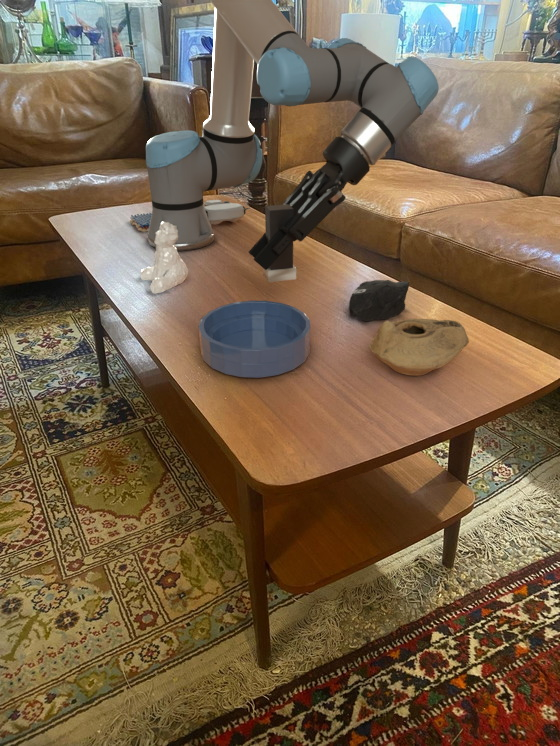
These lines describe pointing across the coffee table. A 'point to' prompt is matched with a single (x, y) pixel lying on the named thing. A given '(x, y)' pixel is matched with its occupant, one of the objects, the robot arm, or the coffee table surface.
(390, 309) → the mineral
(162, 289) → the white creature statuette
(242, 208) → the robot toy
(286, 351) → the bowl
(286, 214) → the eraser
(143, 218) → the woven mat
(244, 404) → the coffee table surface
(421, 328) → the oil lamp
